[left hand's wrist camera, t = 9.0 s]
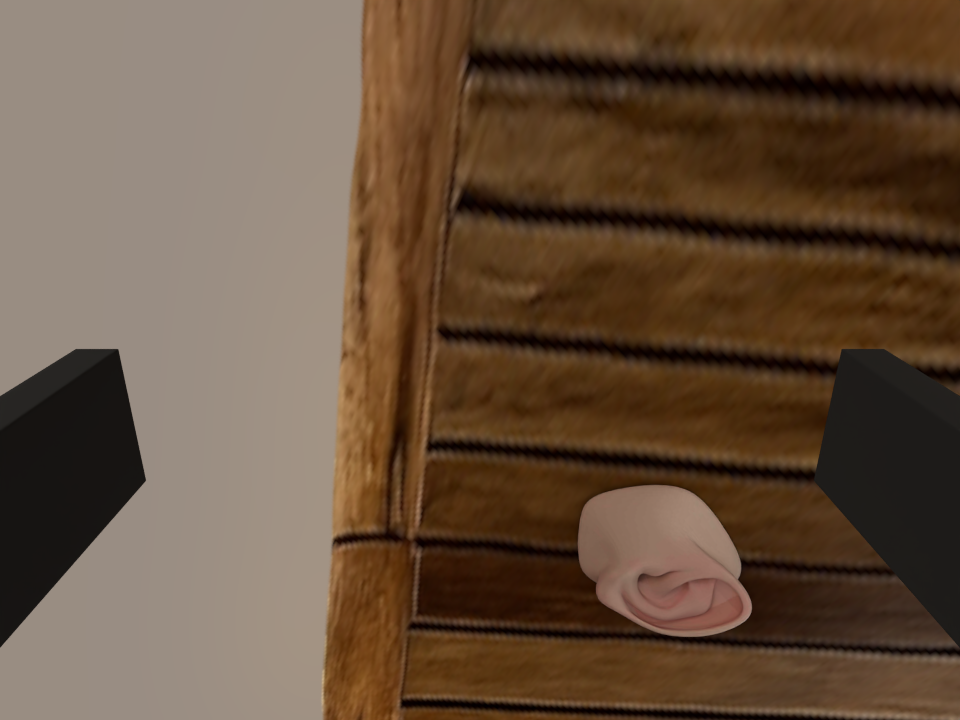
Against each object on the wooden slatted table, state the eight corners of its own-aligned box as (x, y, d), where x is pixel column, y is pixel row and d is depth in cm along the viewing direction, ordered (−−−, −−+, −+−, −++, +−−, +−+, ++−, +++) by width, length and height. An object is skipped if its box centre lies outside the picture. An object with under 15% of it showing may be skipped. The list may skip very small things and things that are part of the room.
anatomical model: (559, 543, 47) (716, 483, 45) (553, 511, 51) (698, 454, 49) (625, 674, 51) (771, 624, 49) (615, 635, 55) (750, 587, 53)
